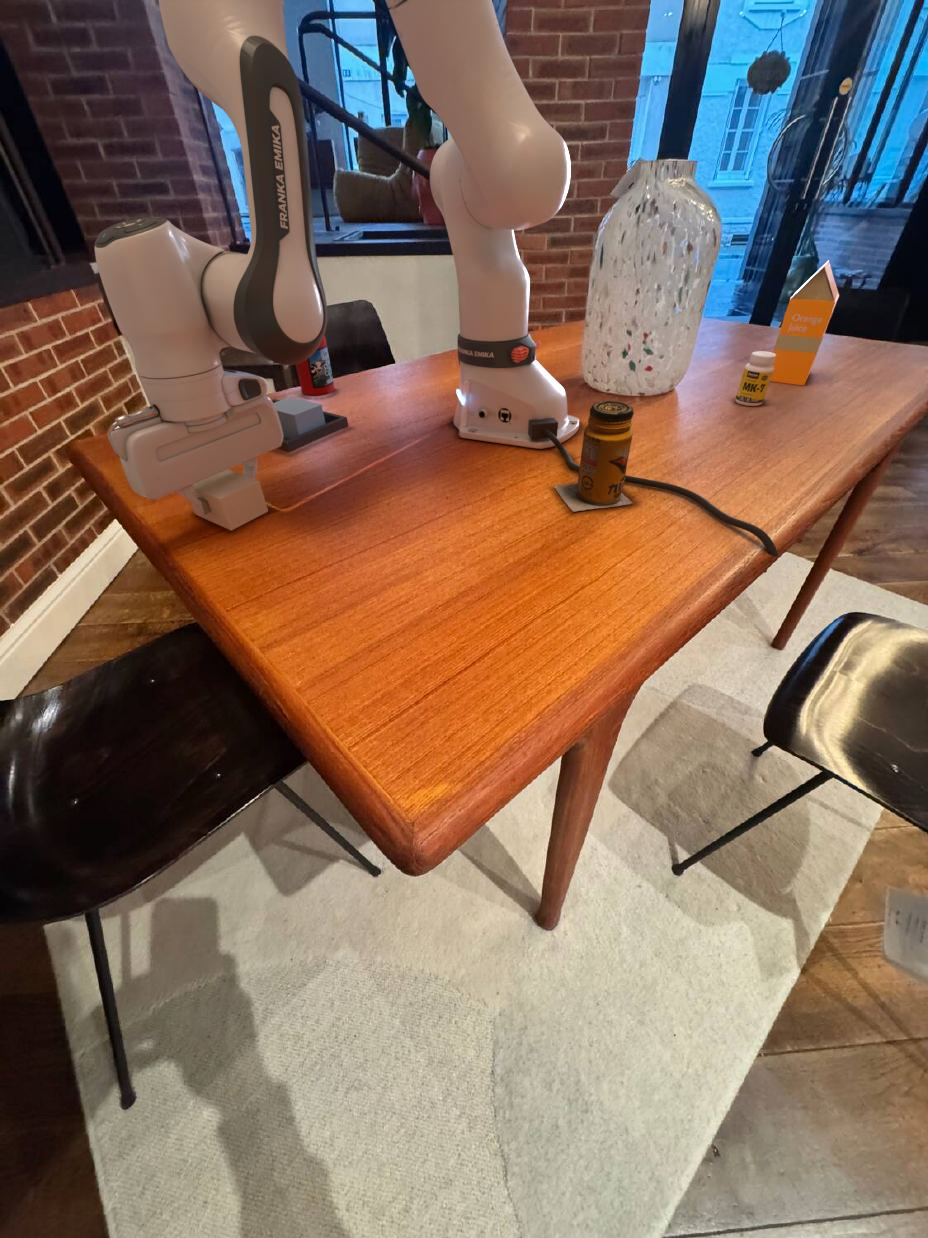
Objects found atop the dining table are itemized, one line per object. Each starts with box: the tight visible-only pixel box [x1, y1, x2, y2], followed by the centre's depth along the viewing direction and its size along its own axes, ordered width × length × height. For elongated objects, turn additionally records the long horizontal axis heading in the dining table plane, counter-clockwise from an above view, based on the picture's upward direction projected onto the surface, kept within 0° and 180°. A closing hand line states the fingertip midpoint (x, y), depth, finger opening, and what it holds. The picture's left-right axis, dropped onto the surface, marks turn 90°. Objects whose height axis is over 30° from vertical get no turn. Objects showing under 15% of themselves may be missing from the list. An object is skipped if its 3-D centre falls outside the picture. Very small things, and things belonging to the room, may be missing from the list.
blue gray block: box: [273, 396, 325, 439], centre depth 90 cm, size 8×6×4 cm
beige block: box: [191, 469, 269, 531], centre depth 69 cm, size 8×6×4 cm
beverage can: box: [295, 335, 335, 397], centre depth 105 cm, size 7×7×12 cm
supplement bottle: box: [734, 350, 776, 407], centre depth 95 cm, size 5×5×8 cm
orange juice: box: [770, 259, 840, 386], centre depth 103 cm, size 8×9×20 cm
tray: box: [271, 398, 349, 453], centre depth 93 cm, size 20×14×2 cm
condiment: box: [553, 400, 634, 513], centre depth 68 cm, size 7×8×12 cm
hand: (227, 501), depth 70 cm, fingers closed on beige block, 6 cm apart
